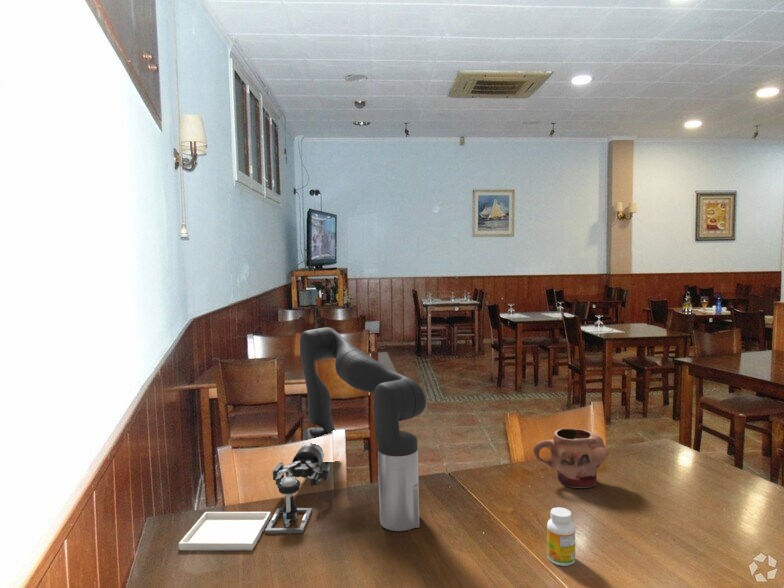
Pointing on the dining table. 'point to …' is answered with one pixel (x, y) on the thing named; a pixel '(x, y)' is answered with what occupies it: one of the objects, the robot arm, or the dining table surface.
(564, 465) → the sculpted ceramic mug
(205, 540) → the tray
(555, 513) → the supplement bottle
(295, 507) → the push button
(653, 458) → the dining table surface
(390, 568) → the dining table surface
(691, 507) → the dining table surface
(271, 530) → the grey flat frame
